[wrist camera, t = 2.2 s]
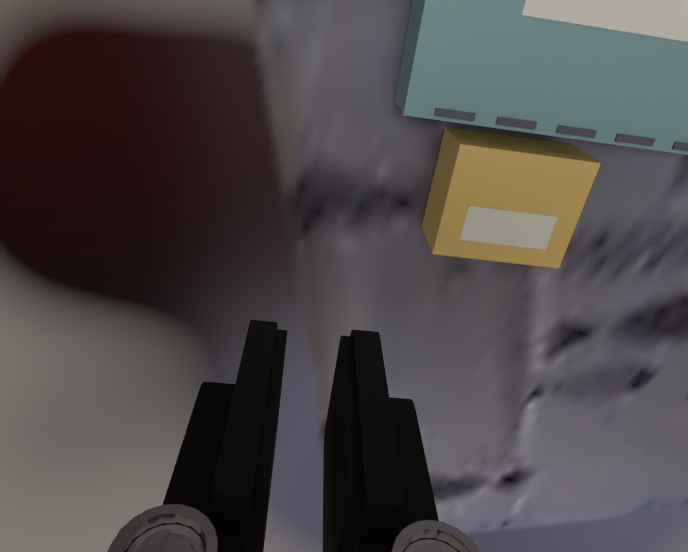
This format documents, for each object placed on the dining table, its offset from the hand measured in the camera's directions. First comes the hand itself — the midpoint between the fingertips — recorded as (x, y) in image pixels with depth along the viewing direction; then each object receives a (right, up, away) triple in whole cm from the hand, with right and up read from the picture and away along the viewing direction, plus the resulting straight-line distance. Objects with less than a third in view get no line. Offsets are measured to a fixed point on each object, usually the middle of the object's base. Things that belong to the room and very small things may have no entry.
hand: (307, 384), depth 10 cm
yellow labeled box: (+8, +7, +14) cm, 17 cm away
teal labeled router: (+10, +13, +10) cm, 20 cm away
